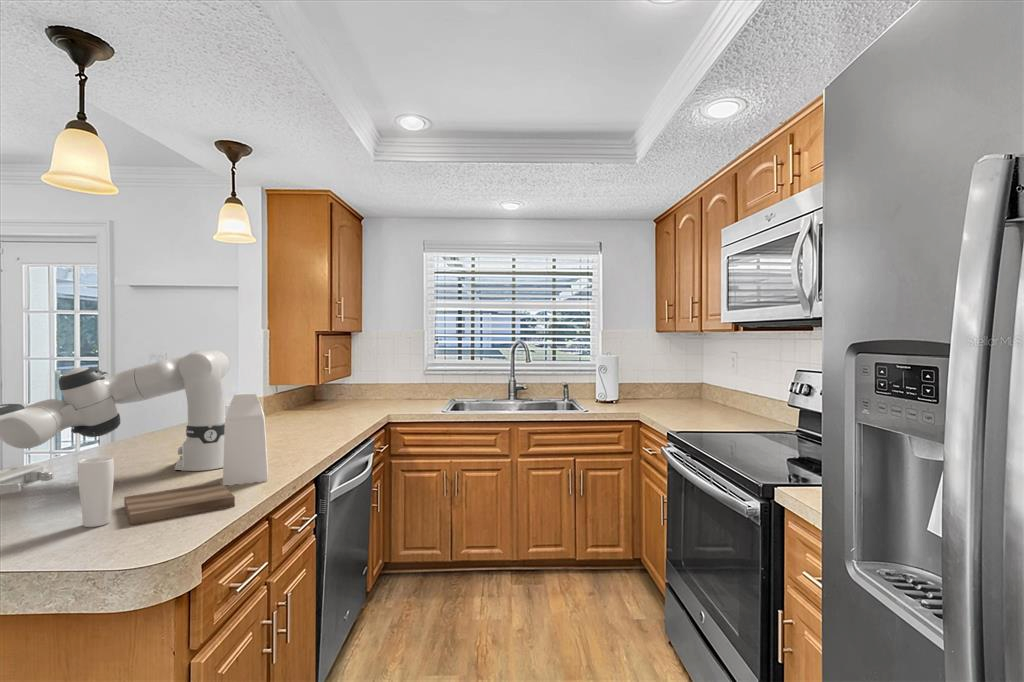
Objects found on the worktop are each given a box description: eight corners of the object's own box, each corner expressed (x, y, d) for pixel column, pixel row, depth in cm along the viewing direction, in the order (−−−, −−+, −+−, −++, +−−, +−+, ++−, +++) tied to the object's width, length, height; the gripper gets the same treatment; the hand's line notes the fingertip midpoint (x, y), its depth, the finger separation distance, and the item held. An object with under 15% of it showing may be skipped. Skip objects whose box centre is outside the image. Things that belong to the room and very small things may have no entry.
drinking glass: (95, 530, 124) (94, 464, 124) (70, 528, 125) (69, 462, 125) (122, 520, 131) (121, 457, 130) (98, 518, 132) (97, 456, 132)
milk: (222, 486, 160) (221, 396, 160) (225, 476, 170) (224, 393, 170) (267, 481, 165) (266, 394, 164) (268, 472, 175) (267, 391, 175)
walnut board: (124, 506, 141) (124, 496, 141) (219, 490, 155) (219, 482, 155) (130, 525, 127) (130, 514, 127) (234, 506, 141) (234, 496, 141)
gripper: (5, 485, 134) (67, 483, 136) (-72, 512, 114) (2, 508, 116) (5, 459, 134) (67, 457, 136) (-73, 482, 114) (2, 479, 116)
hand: (37, 481), depth 126 cm, fingers open, 8 cm apart
